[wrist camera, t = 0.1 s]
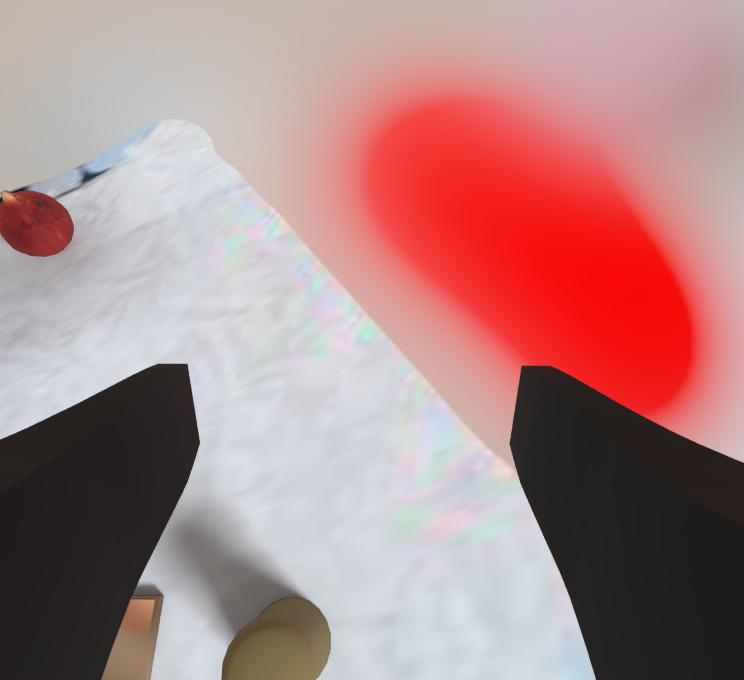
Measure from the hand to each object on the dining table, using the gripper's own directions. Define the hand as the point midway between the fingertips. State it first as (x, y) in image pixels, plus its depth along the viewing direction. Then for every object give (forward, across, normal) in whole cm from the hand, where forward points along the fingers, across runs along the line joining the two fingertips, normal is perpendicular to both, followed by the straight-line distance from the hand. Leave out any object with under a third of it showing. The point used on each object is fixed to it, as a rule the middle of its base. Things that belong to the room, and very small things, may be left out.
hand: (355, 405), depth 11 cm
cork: (+15, +5, +30) cm, 34 cm away
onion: (+40, +31, +7) cm, 51 cm away
